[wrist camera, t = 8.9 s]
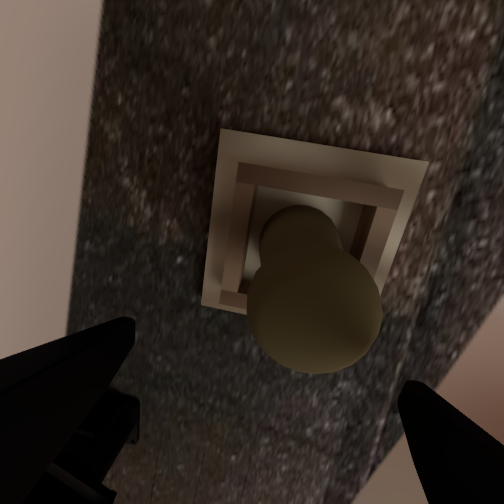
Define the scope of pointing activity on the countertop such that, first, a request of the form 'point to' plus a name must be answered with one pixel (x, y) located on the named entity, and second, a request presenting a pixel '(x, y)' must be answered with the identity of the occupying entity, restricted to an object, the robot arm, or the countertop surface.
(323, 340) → the cork
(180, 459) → the countertop surface
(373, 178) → the socket board
